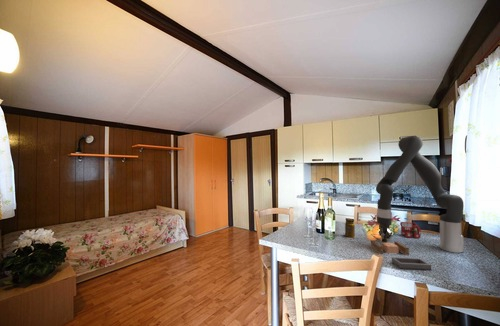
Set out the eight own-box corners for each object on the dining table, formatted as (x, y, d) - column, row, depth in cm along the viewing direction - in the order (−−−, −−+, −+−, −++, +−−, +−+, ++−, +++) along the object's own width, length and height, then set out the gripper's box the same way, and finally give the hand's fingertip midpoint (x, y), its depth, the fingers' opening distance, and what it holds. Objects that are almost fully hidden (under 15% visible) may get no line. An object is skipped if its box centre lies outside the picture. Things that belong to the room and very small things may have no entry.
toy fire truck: (423, 239, 140) (423, 224, 140) (403, 237, 143) (403, 223, 143) (418, 236, 147) (417, 221, 147) (398, 234, 150) (398, 220, 150)
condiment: (357, 237, 144) (357, 220, 144) (350, 239, 140) (350, 221, 140) (347, 234, 150) (347, 217, 150) (340, 236, 146) (340, 219, 146)
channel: (397, 247, 125) (397, 241, 125) (408, 254, 115) (408, 247, 115) (370, 246, 126) (370, 240, 126) (379, 253, 116) (379, 246, 117)
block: (391, 249, 123) (391, 242, 123) (398, 253, 117) (398, 246, 117) (381, 249, 124) (381, 242, 124) (387, 253, 118) (387, 246, 118)
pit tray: (420, 263, 105) (420, 258, 105) (431, 270, 98) (431, 265, 98) (391, 262, 106) (391, 257, 106) (400, 268, 99) (400, 263, 99)
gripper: (397, 219, 119) (397, 249, 118) (384, 213, 132) (384, 240, 131) (383, 218, 119) (383, 248, 119) (372, 213, 132) (372, 240, 132)
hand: (384, 244), depth 125 cm, fingers closed
